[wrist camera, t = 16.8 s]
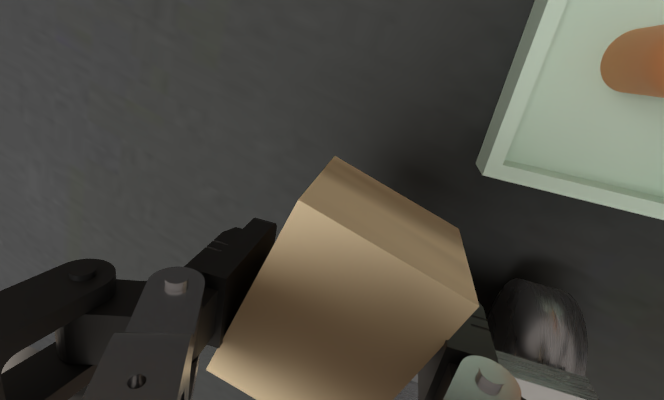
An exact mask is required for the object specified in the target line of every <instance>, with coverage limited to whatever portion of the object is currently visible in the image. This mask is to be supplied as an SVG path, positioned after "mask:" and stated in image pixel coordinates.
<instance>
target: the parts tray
mask: <svg viewBox="0 0 664 400" xmlns="http://www.w3.org/2000/svg"><path fill="white" fill-rule="evenodd" d="M658 25H664V0H535V1H534V4H533V7H532V10H531V12H530V15H529V18H528V21H527V23H526V26H525V29H524V32H523V34H522V37H521V40H520V43H519V45H518V48H517V51H516V54H515V56H514V59H513V62H512V65H511V67H510V70H509V73H508V76H507V78H506V81H505V84H504V86H503V89H502V92H501V95H500V97H499V100H498V103H497V106H496V108H495V111H494V114H493V117H492V119H491V122H490V125H489V128H488V130H487V133H486V136H485V139H484V141H483V144H482V147H481V150H480V152H479V155H478V158H477V161H476V163H475V164H476V165H477V167H478V169H479V171H480V172H481V174H482V175H483V176H487V177H491V178H495V179H499V180H503V181H507V182H512V183H516V184H520V185H524V186H528V187H532V188H536V189H540V190H544V191H548V192H552V193H556V194H560V195H564V196H568V197H572V198H576V199H580V200H584V201H588V202H592V203H596V204H601V205H605V206H609V207H613V208H617V209H621V210H625V211H629V212H633V213H637V214H641V215H645V216H649V217H653V218H657V219H661V220H664V98H661V97H653V96H646V95H638V94H631V93H623V92H618V91H615V90H613V89H611V88H610V87H609V86H607V85H606V83H605V82H604V81H603V79H602V76H601V72H600V65H601V60H602V57H603V55H604V53H605V51H606V49H607V48H608V46H609V45H610V44H611V43H612V42H613V41H614V40H615V39H616V38H618V37H619V36H621V35H622V34H624V33H626V32H628V31H631V30H634V29H639V28H645V27H652V26H658Z"/></svg>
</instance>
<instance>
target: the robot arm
mask: <svg viewBox="0 0 664 400" xmlns="http://www.w3.org/2000/svg"><path fill="white" fill-rule="evenodd" d="M276 229H277V226H276V223H272V222H269V221H265V220H262V219H258V218H254V219H252V220H251V221H250V222H249V223H248V224H247V225H246V226H245V227H244V228H243V229H241V228H237V227H235V228H232V229H230V230H227V231H224V232H222V233H221V234H220V235H219V236H218V237H217V238H216V239H214V241H212V242H211V243H210V244H209V245H208V246H207V248H204V249H203V250H202V251H201V252H200V253H199V254H198V255H197V256H195V257H194V258H193V259H192V260H191V261H190V262H189V263H188V264H187V265H185V266H184V267H170V268H165V269H162V270H159V271H157V272H155V273H154V274H153V275H151V276H150V277H149V279H148V280H147V281H132V280H118V279H116V271H115V268H114V266H113V265H112V264H111V263H109V262H107V261H104V260H99V259H81V260H75V261H71V262H68V263H65V264H63V265H60V266H58V267H56V268H53V269H51V270H49V271H46V272H44V273H42V274H39V275H37V276H35V277H32V278H30V279H28V280H25V281H23V282H20V283H18V284H16V285H13V286H11V287H9V288H6V289H4V290H2V291H0V400H68V399H69V398H71V397H72V396H73V395H75V394H76V393H77V392H78V391H80V390H81V389H83V388H84V387H85V386H87V385H88V384H89V385H88V387H87V390H86V392H85V394H84V396H83V398H82V400H192V397H193V392H194V386H195V380H196V375H197V369H198V364H199V354H200V353H201V351H202V350H203V349H204V347H205V346H206V345H210V346H213V347H216V348H220V346H221V345H222V343H223V338H224V336H225V334H226V332H227V330H228V328H229V326H230V325H231V323H232V321H233V319H234V317H235V315H236V314H237V312H238V310H239V308H240V306H241V304H242V303H243V301H244V299H245V297H246V295H247V293H248V291H249V290H250V288H251V286H252V284H253V282H254V280H255V279H256V277H257V275H258V273H259V271H260V269H261V267H262V266H263V264H264V262H265V260H266V258H267V256H268V255H269V253H270V251H271V249H272V247H273V245H274V242H275V236H276ZM478 303H479V301H478ZM54 331H55V339H56V342H54V343H53V344H51V345H49V346H48V347H46V348H44V349H43V350H41V351H39V352H38V353H36V354H34V355H33V356H31V357H29V358H28V359H26V360H24V361H23V362H21V363H19V364H18V365H16V366H14V367H13V368H11V369H9V370H7V371H6V372H4V373H3V374H1V372H2V369H3V367H4V365H5V364H6V362H7V361H8V360H9V359H10V358H11V357H12V356H13V355H15V354H16V353H17V352H19V351H21V350H22V349H24V348H26V347H28V346H29V345H31V344H33V343H35V342H36V341H38V340H40V339H42V338H43V337H45V336H47V335H49V334H50V333H52V332H54ZM418 400H526V399H524V398H523V397H522V396H521V389H520V386H519V384H518V382H517V381H516V379H515V378H514V377H513V375H512V374H511V373H510V372H509V371H508V370H506V369H505V368H504V367H503V366H501V365H500V364H499V362H498V358H497V355H496V351H495V348H494V344H493V341H492V337H491V334H490V331H489V327H488V323H487V321H486V316H485V312H484V309H483V307H482V305H481V304H480V303H479V307H478V308H477V310H476V311H475V312H474V313H473V314H472V315H471V316H470V317H469V318H468V319H467V320H466V321H465V323H464V324H463V325H462V326H461V327H460V328H459V329H458V330H457V331H456V332H455V333H454V334H453V336H452V337H451V338H450V339H449V340H445V343H444V345H443V346H442V347H441V348H440V350H439V351H438V352H437V353H436V354H435V355H434V356H433V357H432V358H431V359H430V360H429V361H428V363H427V364H426V365H425V366H424V367H423V368H422V369H421V370H420V371H419V372H418Z"/></svg>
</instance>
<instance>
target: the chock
mask: <svg viewBox="0 0 664 400" xmlns="http://www.w3.org/2000/svg"><path fill="white" fill-rule="evenodd" d="M478 307H479V303H478V299H477V295H476V291H475V288H474V284H473V280H472V276H471V273H470V269H469V265H468V262H467V258H466V254H465V250H464V247H463V243H462V239H461V235H460V232H459V229H458V228H457V227H455V226H453V225H452V224H450V223H448V222H446V221H445V220H443V219H441V218H440V217H438V216H436V215H435V214H433V213H431V212H429V211H428V210H426V209H424V208H423V207H421V206H419V205H418V204H416V203H414V202H412V201H411V200H409V199H407V198H406V197H404V196H402V195H401V194H399V193H397V192H395V191H394V190H392V189H390V188H389V187H387V186H385V185H384V184H382V183H380V182H378V181H377V180H375V179H373V178H372V177H370V176H368V175H367V174H365V173H363V172H361V171H360V170H358V169H356V168H355V167H353V166H351V165H350V164H348V163H346V162H345V161H343V160H341V159H339V158H338V157H336V156H334V157H333V159H332V160H331V161H330V162H329V163H328V165H327V166H326V167H325V168H324V169H323V171H322V172H321V173H320V174H319V175H318V177H317V178H316V179H315V180H314V181H313V183H312V184H311V185H310V186H309V187H308V189H307V190H306V191H305V192H304V193H303V195H302V196H301V197H300V198H299V199H298V201H297V203H296V205H295V207H294V208H293V210H292V212H291V214H290V216H289V218H288V220H287V221H286V223H285V225H284V227H283V229H282V231H281V232H280V234H279V236H278V238H277V240H276V242H275V244H274V245H273V247H272V249H271V251H270V253H269V255H268V256H267V258H266V260H265V262H264V264H263V266H262V267H261V269H260V271H259V273H258V275H257V277H256V279H255V280H254V282H253V284H252V286H251V288H250V290H249V291H248V293H247V295H246V297H245V299H244V301H243V303H242V304H241V306H240V308H239V310H238V312H237V314H236V315H235V317H234V319H233V321H232V323H231V325H230V326H229V328H228V330H227V332H226V334H225V336H224V338H223V343H222V345H221V346H220V348H218V349H217V350H216V352H215V354H214V356H213V358H212V360H211V362H210V363H209V365H208V367H207V369H206V370H207V371H209V372H211V373H212V374H214V375H216V376H217V377H219V378H221V379H222V380H224V381H226V382H228V383H229V384H231V385H233V386H234V387H236V388H238V389H239V390H241V391H243V392H244V393H246V394H248V395H250V396H251V397H253V398H255V399H256V400H393V399H394V398H395V397H396V396H397V395H398V394H399V393H400V392H401V391H402V390H403V389H404V387H405V386H406V385H407V384H408V383H409V382H410V381H411V380H412V379H413V378H414V377H415V376H416V374H417V373H418V372H419V371H420V370H421V369H422V368H423V367H424V366H425V365H426V364H427V363H428V361H429V360H430V359H431V358H432V357H433V356H434V355H435V354H436V353H437V352H438V351H439V350H440V348H441V347H442V346H443V345H444V343H445V340H449V339H450V338H451V337H452V336H453V334H454V333H455V332H456V331H457V330H458V329H459V328H460V327H461V326H462V325H463V324H464V323H465V321H466V320H467V319H468V318H469V317H470V316H471V315H472V314H473V313H474V312H475V311H476V310H477V308H478Z"/></svg>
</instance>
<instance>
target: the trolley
mask: <svg viewBox="0 0 664 400" xmlns="http://www.w3.org/2000/svg"><path fill="white" fill-rule="evenodd" d="M487 323H488V327H489V331H490V334H491V337H492V341H493V344H494V348H495V351H496V355H497V358H498V362H499V364H500V365H501V366H503V367H504V368H505V369H506V370H508V371H509V372H510V373H511V374H512V375H513V377H514V378H515V379H516V381H517V382H518V384H519V386H520V389H521V396H522V397H523V398H524V399H526V400H599V399H598V397H597V395H596V393H595V391H594V390H593V388H592V386H591V384H590V382H589V380H588V379H587V377H585V373H586V366H587V354H588V345H587V332H586V327H585V322H584V318H583V315H582V312H581V310H580V308H579V306H578V304H577V302H576V301H575V300H574V298H573V297H572V296H571V295H570V294H569V293H567V292H565V291H563V290H559V289H556V288H552V287H548V286H545V285H541V284H537V283H534V282H530V281H527V280H523V279H519V278H515V279H512V280H510V281H509V282H507V283H506V284H505V285H504V286H503V287H502V289H501V290H500V292H499V293H498V295H497V297H496V298H495V300H494V302H493V305H492V307H491V310H490V313H489V316H488V319H487ZM393 400H418V373H417V374H416V376H415V377H414V378H413V379H412V380H411V381H410V382H409V383H408V384H407V385H406V386H405V387H404V389H403V390H402V391H401V392H400V393H399V394H398V395H397V396H396V397H395V398H394V399H393Z"/></svg>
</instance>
